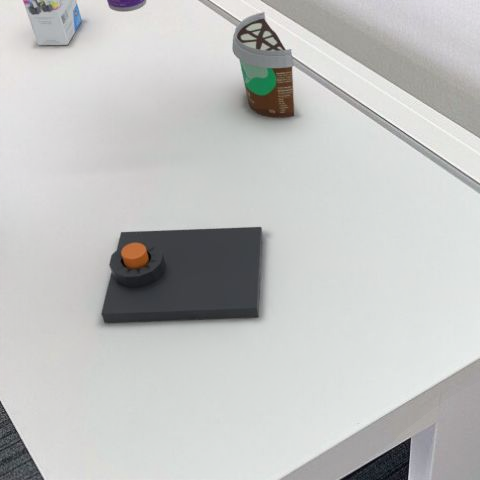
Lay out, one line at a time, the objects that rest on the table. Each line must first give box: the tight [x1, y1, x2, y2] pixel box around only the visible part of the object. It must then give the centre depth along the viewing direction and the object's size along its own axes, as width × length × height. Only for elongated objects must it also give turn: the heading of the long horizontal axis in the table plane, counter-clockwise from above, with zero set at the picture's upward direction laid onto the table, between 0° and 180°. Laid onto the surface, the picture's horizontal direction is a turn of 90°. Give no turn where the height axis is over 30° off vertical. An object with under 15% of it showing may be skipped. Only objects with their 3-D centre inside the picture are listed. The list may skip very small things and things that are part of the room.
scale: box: [100, 226, 264, 324], centre depth 83 cm, size 16×13×3 cm
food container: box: [231, 11, 295, 118], centre depth 103 cm, size 12×6×10 cm, turn 22°
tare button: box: [121, 243, 149, 269], centre depth 81 cm, size 3×3×2 cm
